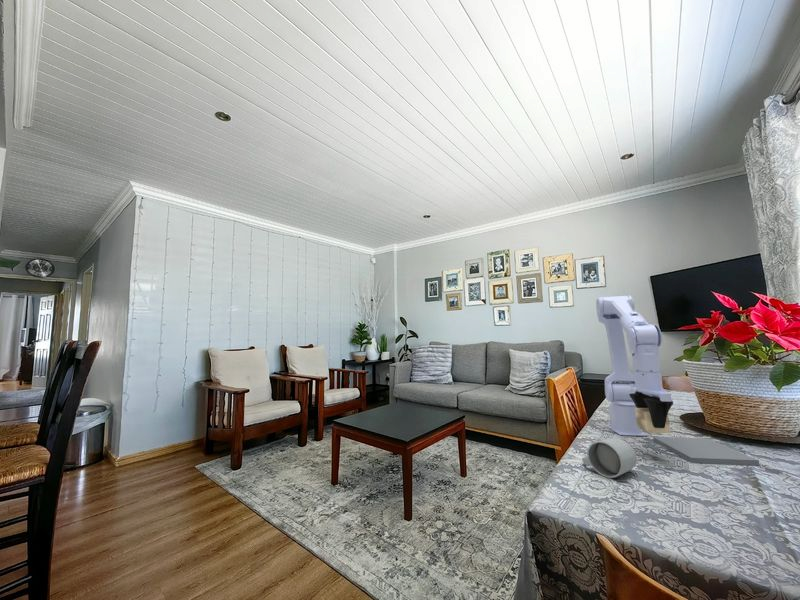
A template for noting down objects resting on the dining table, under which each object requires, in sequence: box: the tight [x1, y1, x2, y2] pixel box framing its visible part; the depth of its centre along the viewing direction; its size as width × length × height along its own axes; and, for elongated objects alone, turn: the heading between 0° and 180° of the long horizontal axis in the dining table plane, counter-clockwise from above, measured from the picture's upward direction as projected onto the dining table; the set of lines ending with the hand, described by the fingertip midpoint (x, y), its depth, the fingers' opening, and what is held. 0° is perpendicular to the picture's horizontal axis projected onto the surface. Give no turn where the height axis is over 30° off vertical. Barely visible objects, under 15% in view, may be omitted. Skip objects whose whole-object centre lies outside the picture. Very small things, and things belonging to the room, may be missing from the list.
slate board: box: [652, 436, 760, 466], centre depth 85 cm, size 16×14×1 cm
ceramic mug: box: [581, 437, 638, 479], centre depth 76 cm, size 11×8×8 cm
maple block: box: [635, 408, 671, 434], centre depth 83 cm, size 5×5×5 cm
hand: (652, 424), depth 83 cm, fingers closed on maple block, 5 cm apart
